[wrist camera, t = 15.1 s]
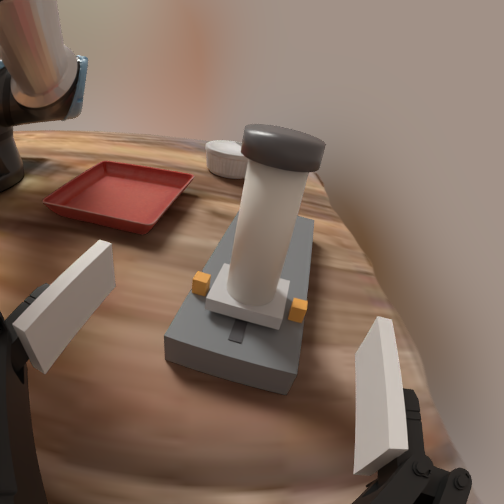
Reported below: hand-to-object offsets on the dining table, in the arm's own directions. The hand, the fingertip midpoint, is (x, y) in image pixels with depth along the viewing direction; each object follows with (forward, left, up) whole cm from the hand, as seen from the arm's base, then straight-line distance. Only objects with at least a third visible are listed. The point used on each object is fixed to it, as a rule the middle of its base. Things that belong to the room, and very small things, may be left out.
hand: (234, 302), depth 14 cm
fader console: (-14, +8, -11) cm, 20 cm away
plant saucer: (-34, -7, -12) cm, 37 cm away
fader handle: (-8, +5, -8) cm, 12 cm away
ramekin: (-49, +14, -11) cm, 52 cm away
